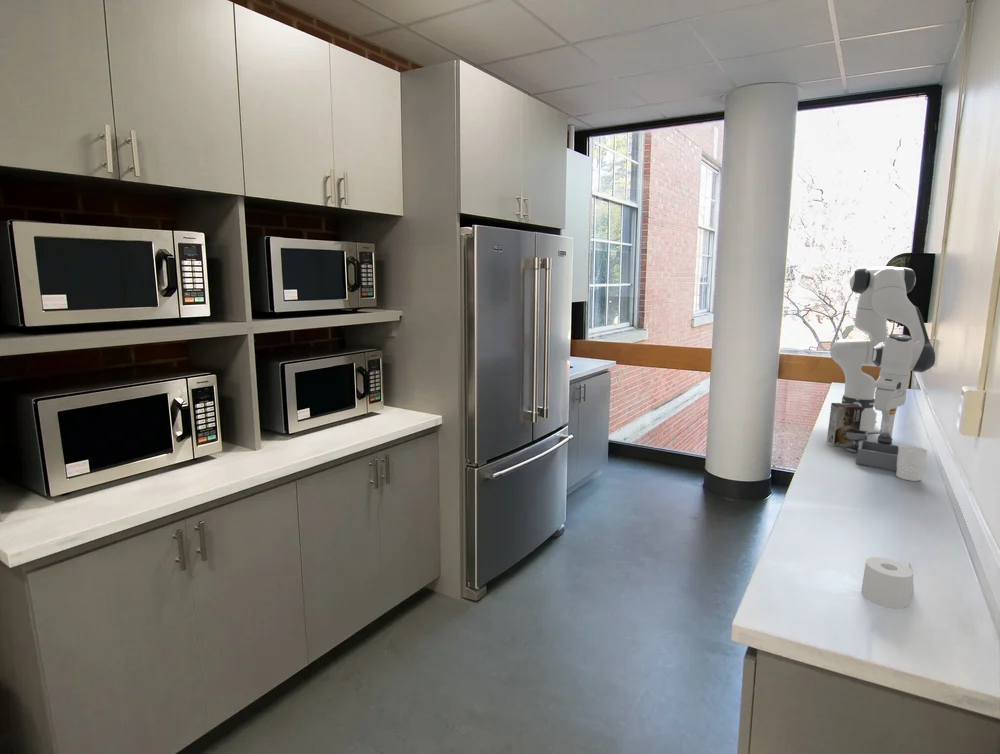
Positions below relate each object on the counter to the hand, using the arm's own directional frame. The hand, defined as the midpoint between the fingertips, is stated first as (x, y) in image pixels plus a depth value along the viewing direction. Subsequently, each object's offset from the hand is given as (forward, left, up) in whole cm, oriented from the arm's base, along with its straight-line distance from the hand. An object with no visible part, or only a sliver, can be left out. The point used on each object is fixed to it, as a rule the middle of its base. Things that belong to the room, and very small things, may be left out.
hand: (887, 420), depth 205 cm
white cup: (+12, +8, -16) cm, 22 cm away
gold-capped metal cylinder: (0, 0, -8) cm, 8 cm away
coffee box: (-18, -14, -16) cm, 28 cm away
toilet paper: (+104, +6, -16) cm, 105 cm away
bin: (0, 0, -16) cm, 16 cm away
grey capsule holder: (-11, -9, -16) cm, 21 cm away
